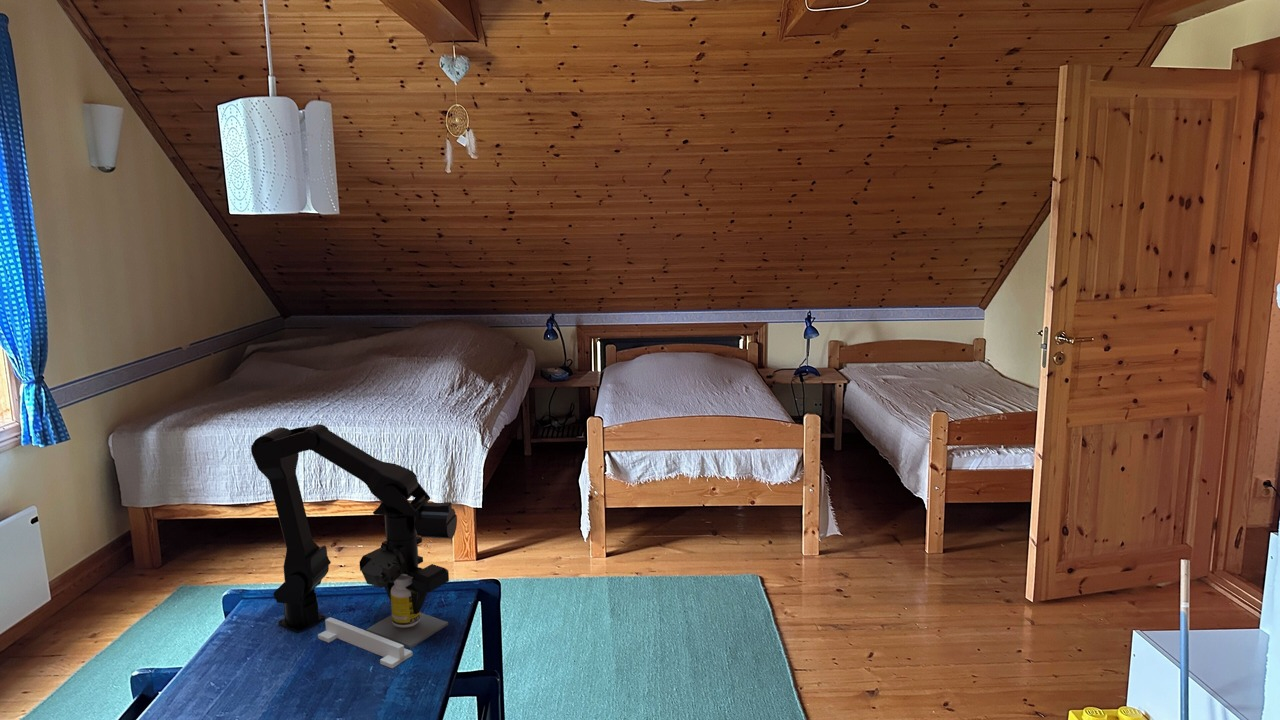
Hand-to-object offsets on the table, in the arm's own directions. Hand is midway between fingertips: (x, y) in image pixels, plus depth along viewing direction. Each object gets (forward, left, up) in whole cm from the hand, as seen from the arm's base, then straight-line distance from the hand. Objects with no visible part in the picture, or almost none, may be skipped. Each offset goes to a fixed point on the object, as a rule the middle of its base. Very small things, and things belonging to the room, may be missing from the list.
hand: (406, 609), depth 160 cm
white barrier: (-2, -9, -4) cm, 10 cm away
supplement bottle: (0, 0, -3) cm, 3 cm away
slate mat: (0, 0, -4) cm, 4 cm away
